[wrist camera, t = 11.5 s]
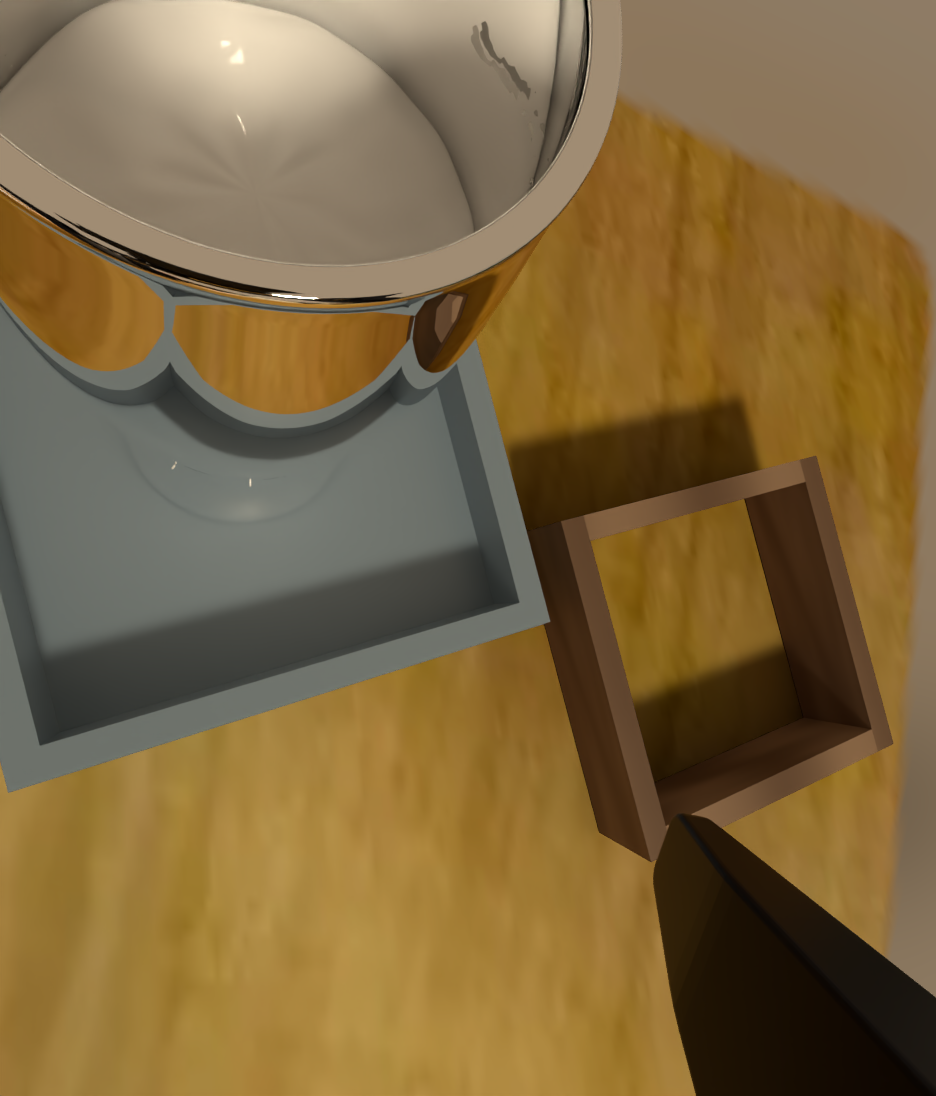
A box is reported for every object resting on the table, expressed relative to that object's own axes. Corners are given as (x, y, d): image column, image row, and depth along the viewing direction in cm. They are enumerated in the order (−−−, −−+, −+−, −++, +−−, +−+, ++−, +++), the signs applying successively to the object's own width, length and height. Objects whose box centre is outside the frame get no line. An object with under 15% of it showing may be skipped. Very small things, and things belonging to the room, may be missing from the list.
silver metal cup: (84, 308, 18) (-373, -692, 4) (337, 298, 21) (567, -365, 7) (128, 559, 18) (-205, 359, 4) (379, 520, 21) (708, 308, 7)
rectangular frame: (599, 832, 23) (651, 862, 20) (520, 533, 23) (561, 521, 20) (823, 730, 27) (893, 743, 24) (754, 472, 27) (816, 455, 24)
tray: (42, 765, 18) (8, 792, 15) (-106, 184, 18) (-167, 104, 15) (510, 621, 23) (550, 621, 20) (390, 165, 23) (413, 102, 20)
